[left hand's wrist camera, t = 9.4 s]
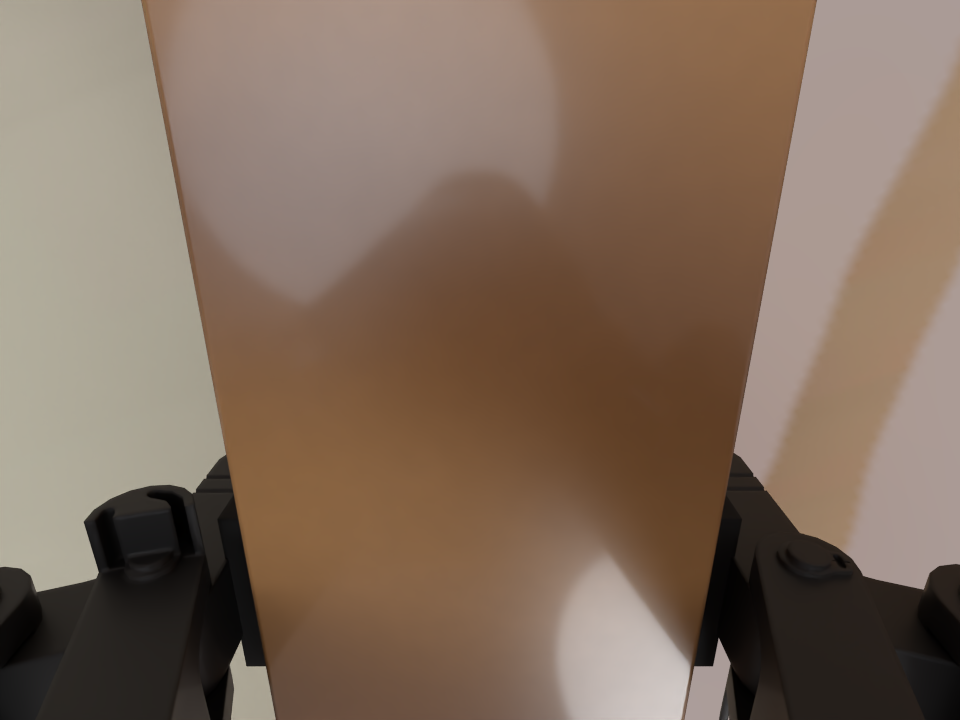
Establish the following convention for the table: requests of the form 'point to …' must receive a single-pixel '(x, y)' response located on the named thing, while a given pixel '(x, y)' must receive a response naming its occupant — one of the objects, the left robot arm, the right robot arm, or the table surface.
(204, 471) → the table surface
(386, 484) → the bar
